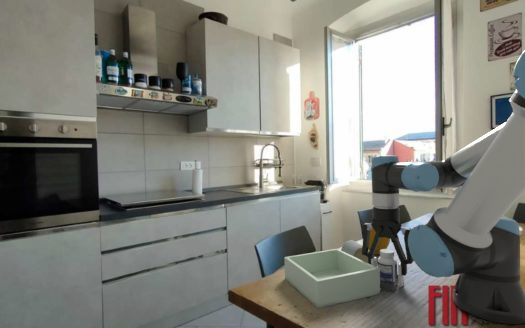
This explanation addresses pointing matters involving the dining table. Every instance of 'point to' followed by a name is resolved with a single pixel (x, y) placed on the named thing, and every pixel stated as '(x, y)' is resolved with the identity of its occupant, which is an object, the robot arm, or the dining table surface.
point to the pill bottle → (388, 265)
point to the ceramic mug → (354, 250)
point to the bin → (331, 277)
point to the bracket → (387, 284)
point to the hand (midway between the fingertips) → (387, 281)
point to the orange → (382, 243)
